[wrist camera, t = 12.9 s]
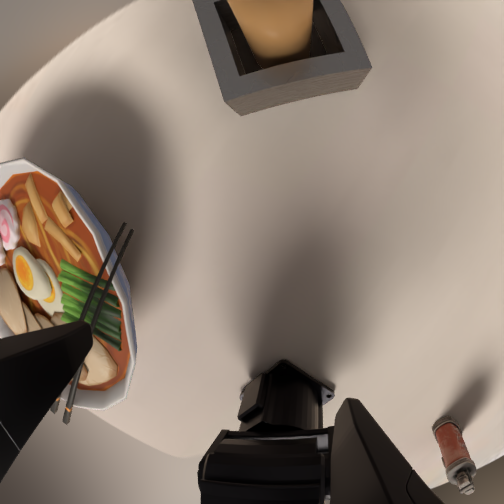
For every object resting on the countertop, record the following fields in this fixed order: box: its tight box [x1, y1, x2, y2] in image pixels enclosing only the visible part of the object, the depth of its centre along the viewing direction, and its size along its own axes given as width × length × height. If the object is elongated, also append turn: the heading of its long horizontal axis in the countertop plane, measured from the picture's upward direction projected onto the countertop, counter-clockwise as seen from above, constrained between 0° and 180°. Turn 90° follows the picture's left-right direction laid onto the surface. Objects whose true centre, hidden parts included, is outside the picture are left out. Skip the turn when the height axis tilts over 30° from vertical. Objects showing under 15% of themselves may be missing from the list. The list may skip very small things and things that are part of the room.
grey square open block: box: [192, 0, 372, 116], centre depth 14 cm, size 8×8×4 cm
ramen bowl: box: [0, 158, 137, 424], centre depth 20 cm, size 25×23×8 cm
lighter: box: [432, 416, 476, 495], centre depth 18 cm, size 8×3×10 cm, turn 43°
